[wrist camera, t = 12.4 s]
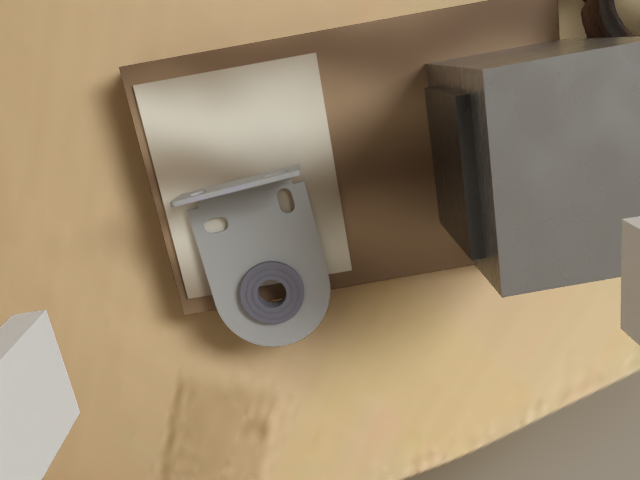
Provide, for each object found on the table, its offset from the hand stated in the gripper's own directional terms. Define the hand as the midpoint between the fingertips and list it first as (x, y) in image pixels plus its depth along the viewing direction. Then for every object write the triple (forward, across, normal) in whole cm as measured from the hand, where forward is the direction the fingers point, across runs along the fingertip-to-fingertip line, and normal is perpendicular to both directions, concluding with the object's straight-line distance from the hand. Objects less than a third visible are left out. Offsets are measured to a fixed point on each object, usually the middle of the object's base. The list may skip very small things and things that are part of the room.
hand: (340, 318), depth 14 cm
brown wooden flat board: (+22, +2, -1) cm, 22 cm away
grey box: (+20, +10, -1) cm, 22 cm away
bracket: (+20, -4, -5) cm, 21 cm away
